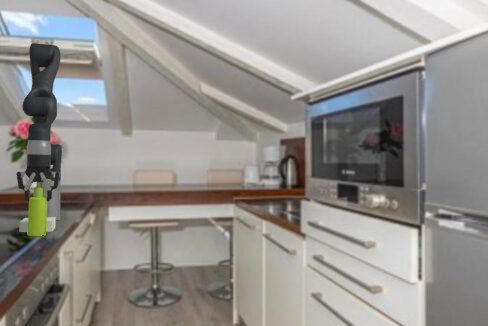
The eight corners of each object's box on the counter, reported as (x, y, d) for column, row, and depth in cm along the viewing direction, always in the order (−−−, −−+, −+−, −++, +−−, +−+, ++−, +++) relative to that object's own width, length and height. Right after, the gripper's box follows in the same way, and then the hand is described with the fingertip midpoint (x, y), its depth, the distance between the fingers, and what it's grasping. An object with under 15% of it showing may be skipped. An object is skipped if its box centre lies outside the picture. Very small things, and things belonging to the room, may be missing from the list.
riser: (24, 228, 157) (25, 217, 157) (55, 227, 160) (55, 217, 160) (19, 232, 147) (19, 221, 147) (51, 231, 151) (52, 220, 151)
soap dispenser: (43, 236, 141) (46, 179, 141) (23, 235, 141) (26, 178, 141) (51, 233, 147) (54, 178, 147) (32, 232, 147) (35, 177, 147)
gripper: (62, 154, 149) (61, 199, 149) (18, 153, 145) (17, 200, 145) (60, 153, 142) (59, 202, 142) (13, 152, 138) (12, 202, 138)
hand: (38, 200), depth 144 cm, fingers closed on soap dispenser, 6 cm apart
